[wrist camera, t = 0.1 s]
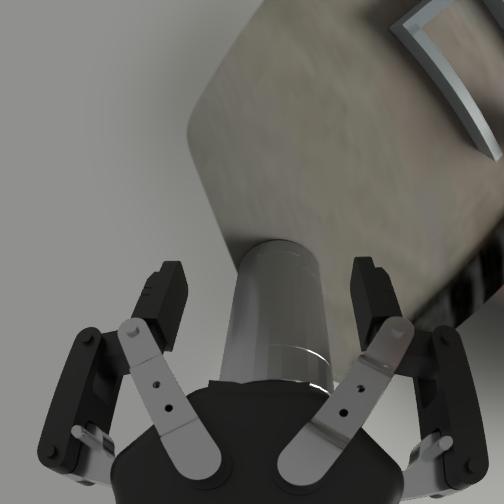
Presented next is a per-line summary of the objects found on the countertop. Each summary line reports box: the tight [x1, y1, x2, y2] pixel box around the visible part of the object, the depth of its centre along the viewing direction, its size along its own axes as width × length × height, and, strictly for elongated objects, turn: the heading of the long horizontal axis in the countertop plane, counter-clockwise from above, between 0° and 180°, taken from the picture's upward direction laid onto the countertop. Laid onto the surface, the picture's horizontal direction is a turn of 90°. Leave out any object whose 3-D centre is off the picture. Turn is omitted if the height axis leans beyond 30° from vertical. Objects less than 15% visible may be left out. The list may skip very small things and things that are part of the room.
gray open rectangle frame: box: [389, 0, 504, 161], centre depth 18 cm, size 16×13×4 cm
